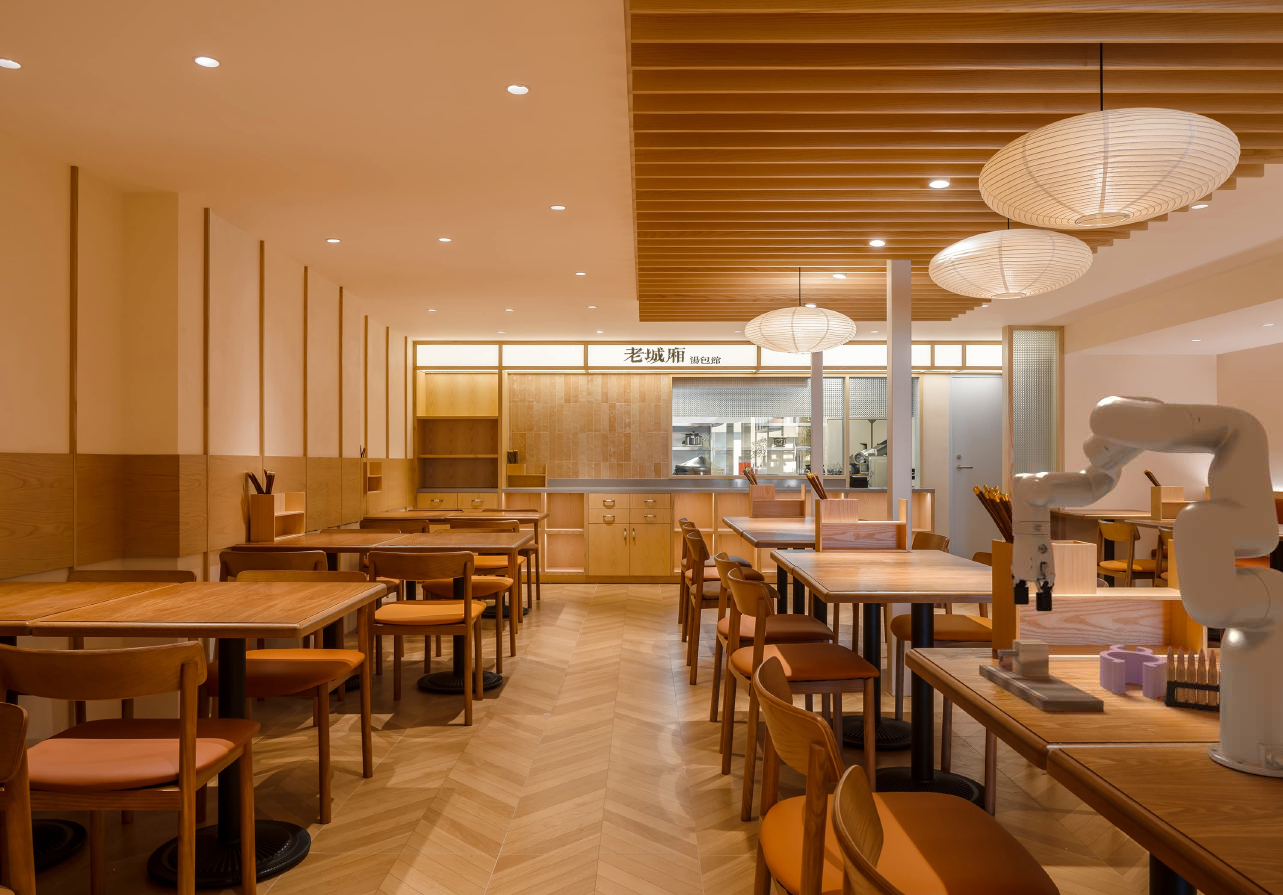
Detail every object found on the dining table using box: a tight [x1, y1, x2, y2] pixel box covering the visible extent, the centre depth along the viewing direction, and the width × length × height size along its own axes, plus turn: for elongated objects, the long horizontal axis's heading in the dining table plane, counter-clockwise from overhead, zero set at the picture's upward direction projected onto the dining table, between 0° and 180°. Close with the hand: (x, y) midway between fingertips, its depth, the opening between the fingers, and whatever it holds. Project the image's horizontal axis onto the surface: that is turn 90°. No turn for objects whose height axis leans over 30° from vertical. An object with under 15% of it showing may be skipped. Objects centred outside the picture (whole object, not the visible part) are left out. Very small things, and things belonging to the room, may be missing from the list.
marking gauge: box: [997, 639, 1050, 676], centre depth 180 cm, size 4×10×7 cm, turn 92°
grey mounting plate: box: [978, 656, 1105, 712], centre depth 174 cm, size 28×12×5 cm, turn 2°
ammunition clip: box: [1164, 645, 1220, 714], centre depth 162 cm, size 11×2×12 cm, turn 65°
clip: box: [1099, 644, 1167, 700], centre depth 179 cm, size 20×12×7 cm, turn 151°
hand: (1032, 607), depth 180 cm, fingers open, 9 cm apart
